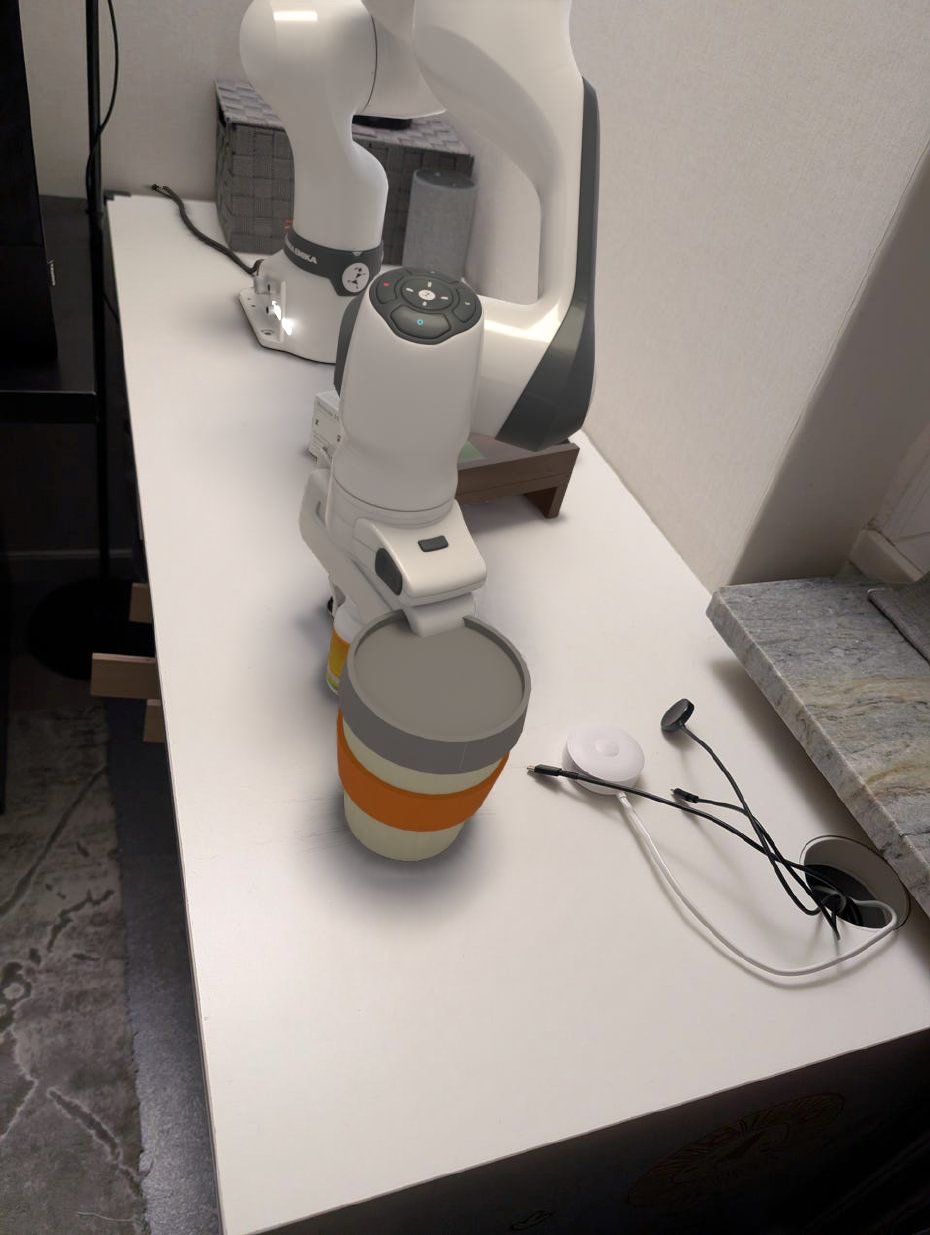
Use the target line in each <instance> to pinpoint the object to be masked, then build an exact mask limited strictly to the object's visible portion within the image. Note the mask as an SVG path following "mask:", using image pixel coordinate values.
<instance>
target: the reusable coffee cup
mask: <svg viewBox="0 0 930 1235" xmlns="http://www.w3.org/2000/svg"><path fill="white" fill-rule="evenodd" d="M462 618H463V620H464V623H465V626H463V627H459V628H456V629H453V630H450V631H446V632H443V633H439V634H436V635H432V636H428V637H425V638H422V637H419V636H417V635H416V634H415V633H414V632H413V631H412V630H411V628H410V624H409V621H408V619H407V617H406V615H405V613H404V611H403V610H402V609H398V610H395V611H391V612H387V613H385V614H383V615H381V616H379V617H377V618H375V619H373V620H372V621H370V622H369V623H368V624H366V625H365V626H364V627H362V628H361V630H360V631H359V632H358V633H357V634H356V636H355V637H354V639H353V641H352V643H351V645H350V647H349V650H348V653H347V656H346V659H345V662H344V665H343V668H342V672H341V675H340V678H339V684H338V691H337V692H338V695H337V700H338V706H339V707H338V708H337V716H336V755H337V756H336V758H337V762H336V763H337V771H338V777H339V779H340V782H341V785H342V787H343V807H344V809H343V810H344V816H345V820H346V823H347V825H348V827H349V829H350V831H351V833H352V834H353V836H354V837H355V838H356V839H357V840H358V841H359V842H360V843H361V844H362V845H363V846H365V847H366V848H367V849H368V850H370V851H371V852H373V853H375V854H377V855H380V856H382V857H384V858H387V859H391V860H395V861H403V862H413V861H416V862H417V861H421V860H426V859H427V860H428V859H430V858H432V857H435V856H437V855H439V854H441V853H443V851H445V850H446V849H448V848H449V847H450V846H451V845H452V844H453V843H454V841H455V840H456V839H457V837H458V835H459V833H460V832H461V830H462V828H463V827H464V825H465V823H466V821H467V820H468V819H470V818H471V817H472V816H474V815H475V814H476V813H477V812H478V810H479V809H480V808H481V807H482V806H483V804H484V802H486V799H487V798H488V796H489V794H490V792H492V789H493V788H494V786H495V784H496V783H497V781H498V779H499V777H500V776H501V773H502V772H503V771H504V768H505V766H506V765H507V763H508V761H509V758H510V754H511V751H512V750H513V749H514V747H515V746H516V745H517V743H518V742H519V740H520V737H521V736H522V733H523V732H524V727H525V722H526V718H527V713H528V708H529V703H530V699H531V692H532V679H531V673H530V670H529V667H528V664H527V662H526V660H525V659H524V657H523V656H522V654H521V652H520V651H519V649H518V648H517V647H516V646H515V645H514V644H513V643H512V641H511V640H510V639H509V638H507V636H505V635H504V634H503V633H502V632H500V631H499V630H498V629H497V628H495V627H493V626H492V625H490V624H488V623H486V622H485V621H483V620H481V619H479V618H476V617H475V618H474V617H472V616H470V615H467V616H464V617H462Z"/></svg>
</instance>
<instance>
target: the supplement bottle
mask: <svg viewBox="0 0 930 1235" xmlns="http://www.w3.org/2000/svg"><path fill="white" fill-rule="evenodd" d="M365 625H366V624H365V622H364V621H363V620H362V618H361V617H360V616H359V613H358V609H357V606H356V604H355V603H354V601H353V600H352V599H351V597H350V596H349V595H348V594H347V596H346V599H345V602H344V603H343V604H342V605H341V606H340V607H339V608H338V610H337V611H336V614H335V617H333V623H332V630H331V638H330V645H329V652H328V658H327V664H326V673H325V676H326V677H325V678H326V683H327V685H328V687H329V688H330V690H331V691H332V692H333V693H334V694H335V695H336V696H338V692H337V691H338V684H339V678H340V675H341V672H342V668H343V665H344V662H345V659H346V656H347V653H348V650H349V647H350V645H351V643H352V641H353V639H354V637H355V636H356V634H357V633H358V632H359V631H360V630H361V628H362V627H364V626H365Z"/></svg>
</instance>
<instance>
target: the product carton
mask: <svg viewBox="0 0 930 1235" xmlns="http://www.w3.org/2000/svg"><path fill="white" fill-rule="evenodd" d="M314 397H315V398H314V405H313V406H314V407H313V415H312V422H311V430H310V438H309V446H308V451H309V453H310V454H312V456H314V457H316V458H317V457H318V452H319V450H320V449H322V448H323V447H324V446H325V445H333V444H334V445H337V446H338V444H339V442H340V438H341V425H340V420H339V411H338V410H339V400H340V398H339V396H338V394H337V391H336V389H335V388H334V389H331V390H327V391H322V392H318V393H316V394H315V396H314Z"/></svg>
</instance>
